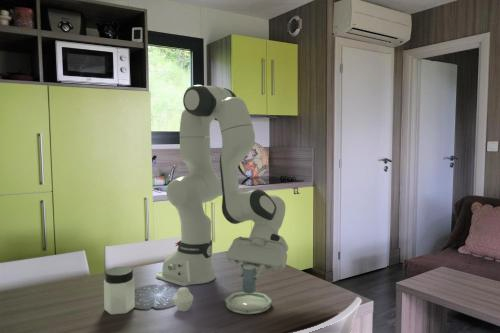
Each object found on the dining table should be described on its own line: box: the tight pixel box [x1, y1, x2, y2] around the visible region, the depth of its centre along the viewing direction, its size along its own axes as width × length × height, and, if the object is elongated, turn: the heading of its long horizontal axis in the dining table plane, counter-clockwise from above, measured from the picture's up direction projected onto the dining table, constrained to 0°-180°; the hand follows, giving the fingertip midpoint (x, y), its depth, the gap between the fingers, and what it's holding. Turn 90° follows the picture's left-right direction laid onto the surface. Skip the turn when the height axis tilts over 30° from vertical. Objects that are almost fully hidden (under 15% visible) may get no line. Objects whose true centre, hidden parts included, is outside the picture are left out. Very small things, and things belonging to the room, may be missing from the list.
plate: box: [224, 291, 273, 315], centre depth 126 cm, size 14×14×2 cm
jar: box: [103, 266, 136, 315], centre depth 122 cm, size 9×8×12 cm
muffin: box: [172, 286, 194, 312], centre depth 122 cm, size 6×6×7 cm
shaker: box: [242, 264, 257, 293], centre depth 125 cm, size 4×4×8 cm
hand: (248, 277), depth 124 cm, fingers closed on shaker, 4 cm apart
